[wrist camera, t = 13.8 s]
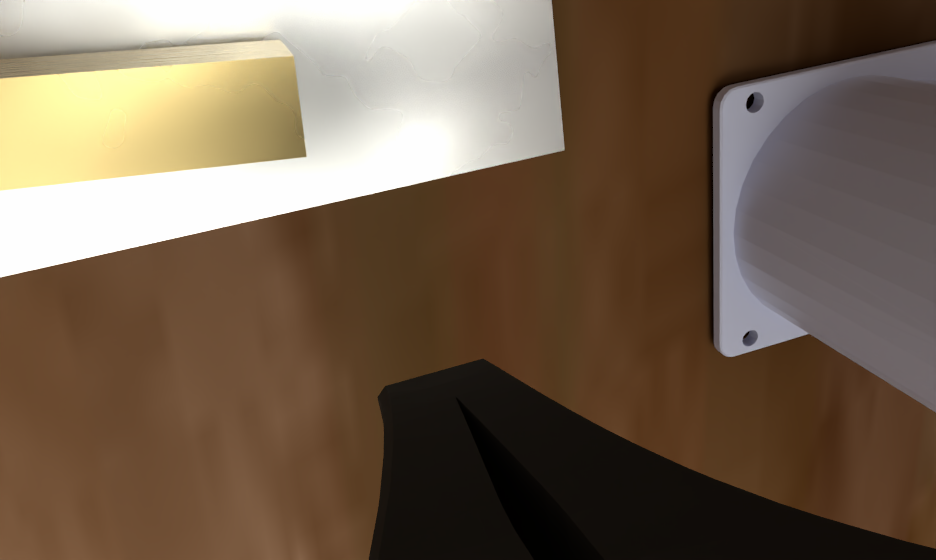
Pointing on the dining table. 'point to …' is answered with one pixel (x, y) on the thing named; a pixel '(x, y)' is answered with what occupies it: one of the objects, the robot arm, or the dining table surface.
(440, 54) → the levelling plate
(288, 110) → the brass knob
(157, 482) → the dining table surface
